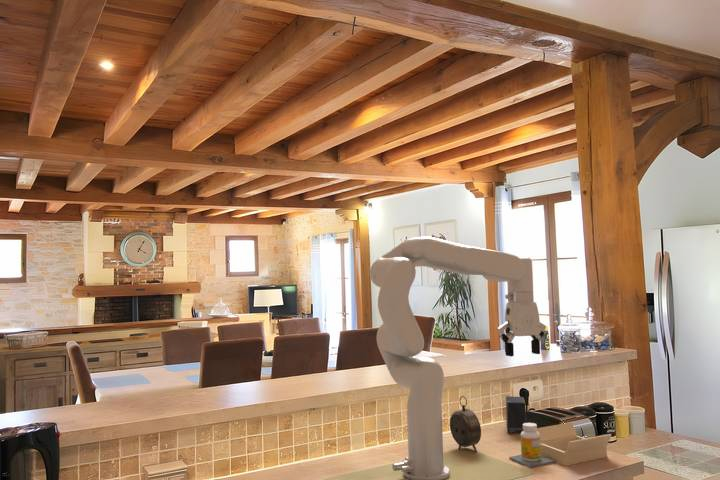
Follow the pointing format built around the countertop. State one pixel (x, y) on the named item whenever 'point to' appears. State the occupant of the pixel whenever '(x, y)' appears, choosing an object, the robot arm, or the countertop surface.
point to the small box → (515, 414)
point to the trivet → (532, 463)
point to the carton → (570, 445)
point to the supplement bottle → (530, 443)
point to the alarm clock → (465, 427)
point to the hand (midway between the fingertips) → (522, 354)
